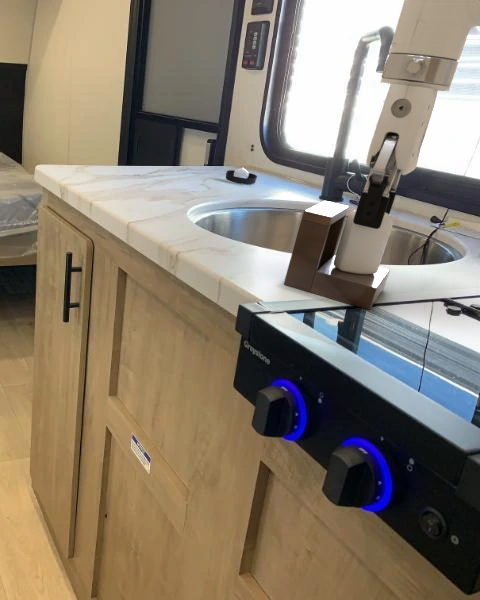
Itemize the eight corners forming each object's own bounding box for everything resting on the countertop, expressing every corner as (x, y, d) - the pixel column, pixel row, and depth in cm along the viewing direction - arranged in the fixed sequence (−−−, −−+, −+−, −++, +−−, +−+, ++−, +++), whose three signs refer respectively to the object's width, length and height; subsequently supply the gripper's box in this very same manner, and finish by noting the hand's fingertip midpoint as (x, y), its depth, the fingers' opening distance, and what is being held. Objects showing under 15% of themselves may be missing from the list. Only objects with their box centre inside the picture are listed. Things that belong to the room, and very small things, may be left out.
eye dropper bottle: (332, 261, 83) (358, 175, 79) (376, 271, 81) (405, 183, 77) (331, 269, 79) (359, 179, 75) (377, 279, 77) (408, 188, 73)
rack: (383, 289, 84) (407, 219, 80) (369, 310, 75) (395, 232, 71) (304, 267, 89) (324, 200, 85) (283, 284, 80) (303, 210, 77)
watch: (254, 183, 154) (258, 169, 153) (255, 186, 150) (258, 172, 149) (224, 178, 155) (227, 164, 154) (224, 181, 151) (227, 167, 150)
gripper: (447, 75, 62) (391, 241, 69) (457, 81, 76) (409, 220, 83) (371, 66, 66) (325, 225, 73) (393, 73, 79) (352, 207, 86)
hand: (370, 221), depth 78 cm, fingers closed on eye dropper bottle, 4 cm apart
